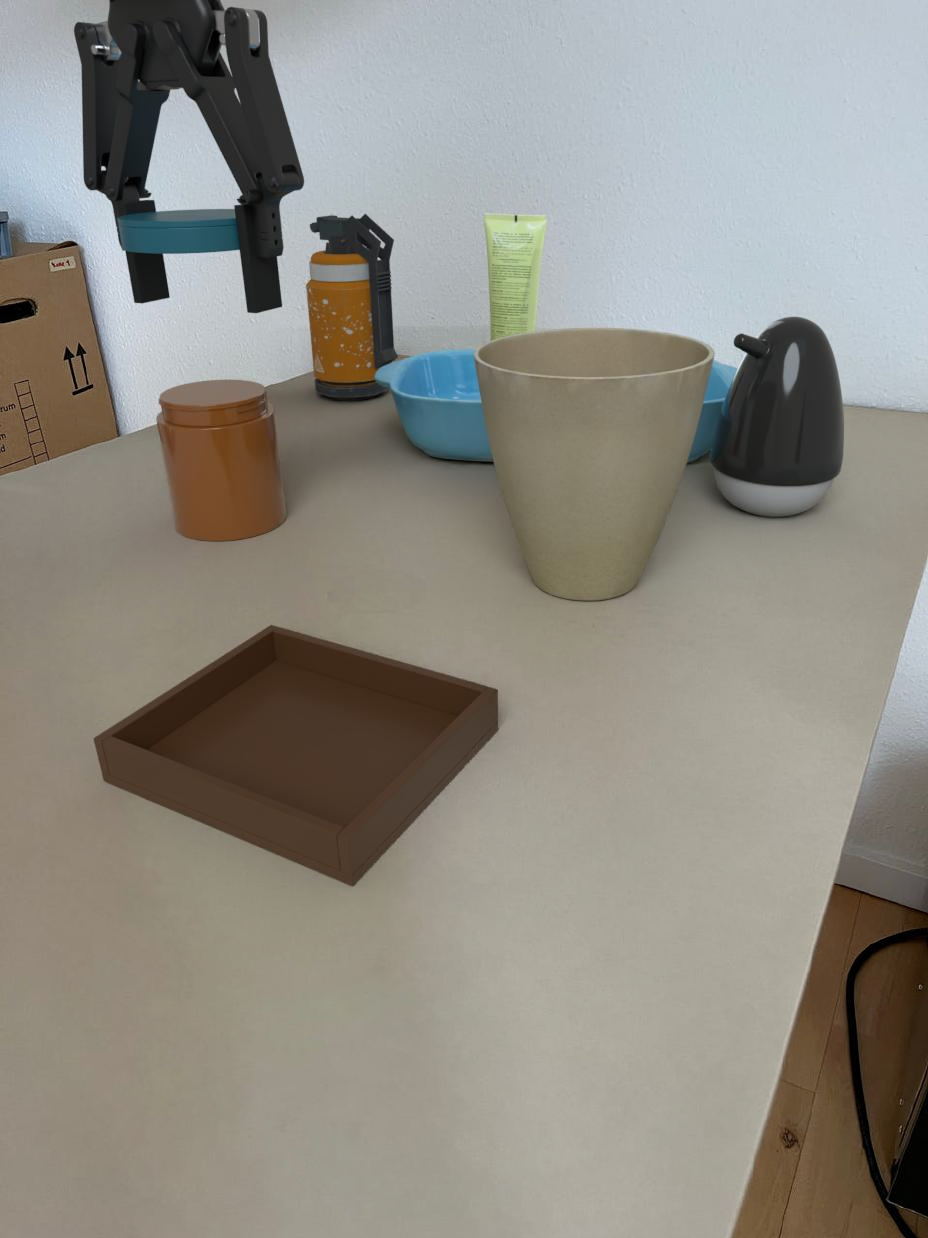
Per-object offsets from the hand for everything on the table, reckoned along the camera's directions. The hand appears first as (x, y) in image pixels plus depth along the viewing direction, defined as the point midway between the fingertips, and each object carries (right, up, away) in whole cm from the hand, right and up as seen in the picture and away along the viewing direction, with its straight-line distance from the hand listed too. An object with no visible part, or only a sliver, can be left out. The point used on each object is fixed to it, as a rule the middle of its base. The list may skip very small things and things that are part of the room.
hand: (206, 304), depth 65 cm
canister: (+5, +5, +48) cm, 48 cm away
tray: (+10, -29, -17) cm, 35 cm away
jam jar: (-1, -14, +12) cm, 18 cm away
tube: (+24, +6, +49) cm, 55 cm away
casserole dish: (+28, -4, +30) cm, 41 cm away
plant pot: (+26, -19, +1) cm, 32 cm away
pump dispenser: (+43, -13, +13) cm, 47 cm away
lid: (0, +5, -3) cm, 5 cm away
